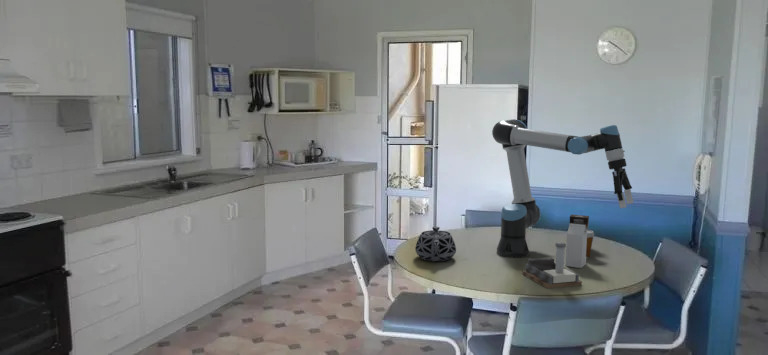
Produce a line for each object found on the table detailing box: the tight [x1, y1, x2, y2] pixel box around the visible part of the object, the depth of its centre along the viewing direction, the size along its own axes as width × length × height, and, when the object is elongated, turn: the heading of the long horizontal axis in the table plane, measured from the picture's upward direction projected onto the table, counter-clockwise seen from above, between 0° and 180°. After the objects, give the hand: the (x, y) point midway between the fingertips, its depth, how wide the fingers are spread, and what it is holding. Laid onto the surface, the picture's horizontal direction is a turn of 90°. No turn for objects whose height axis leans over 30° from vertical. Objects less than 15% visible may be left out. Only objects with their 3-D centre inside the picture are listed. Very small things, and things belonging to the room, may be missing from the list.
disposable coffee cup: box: [586, 229, 595, 258], centre depth 299 cm, size 10×10×12 cm
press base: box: [521, 256, 583, 289], centre depth 261 cm, size 20×16×6 cm
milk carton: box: [565, 222, 587, 269], centre depth 282 cm, size 7×7×19 cm
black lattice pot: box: [414, 226, 457, 262], centre depth 294 cm, size 19×31×15 cm, turn 177°
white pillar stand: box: [543, 241, 576, 283], centre depth 255 cm, size 8×10×15 cm
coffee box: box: [568, 214, 590, 230], centre depth 315 cm, size 9×6×16 cm
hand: (627, 205), depth 281 cm, fingers open, 13 cm apart
